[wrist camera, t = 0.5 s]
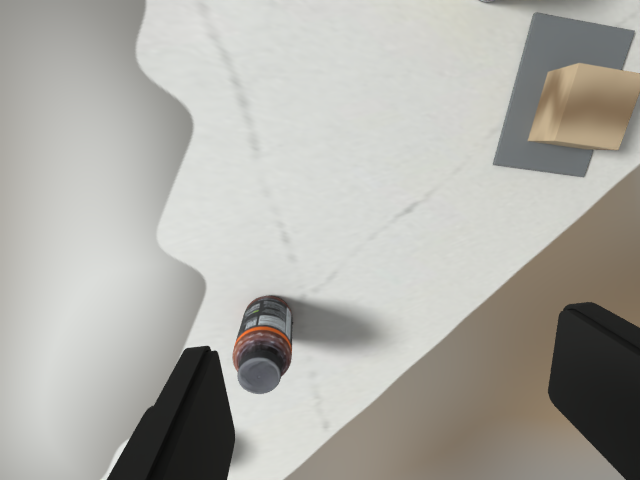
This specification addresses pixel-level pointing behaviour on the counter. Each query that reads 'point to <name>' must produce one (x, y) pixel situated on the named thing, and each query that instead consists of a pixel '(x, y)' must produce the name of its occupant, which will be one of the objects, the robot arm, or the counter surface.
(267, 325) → the supplement bottle
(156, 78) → the counter surface
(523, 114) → the mat
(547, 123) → the oak block
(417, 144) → the counter surface
